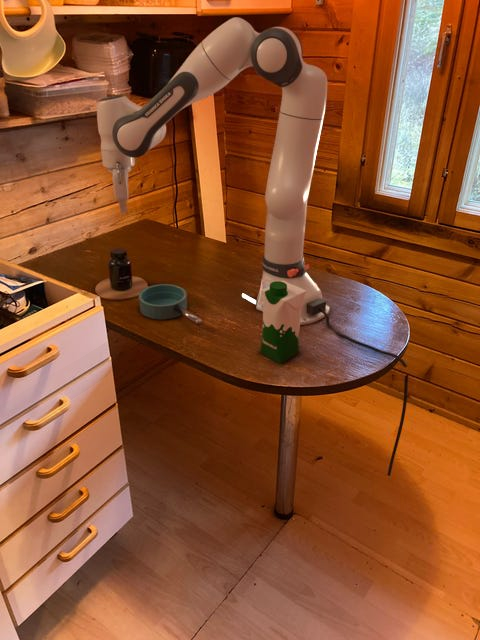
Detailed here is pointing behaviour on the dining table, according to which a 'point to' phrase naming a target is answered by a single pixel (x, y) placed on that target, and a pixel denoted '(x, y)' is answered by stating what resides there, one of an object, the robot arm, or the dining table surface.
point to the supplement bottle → (120, 270)
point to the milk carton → (281, 320)
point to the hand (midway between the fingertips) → (123, 207)
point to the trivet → (108, 293)
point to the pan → (162, 301)
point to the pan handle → (188, 315)
